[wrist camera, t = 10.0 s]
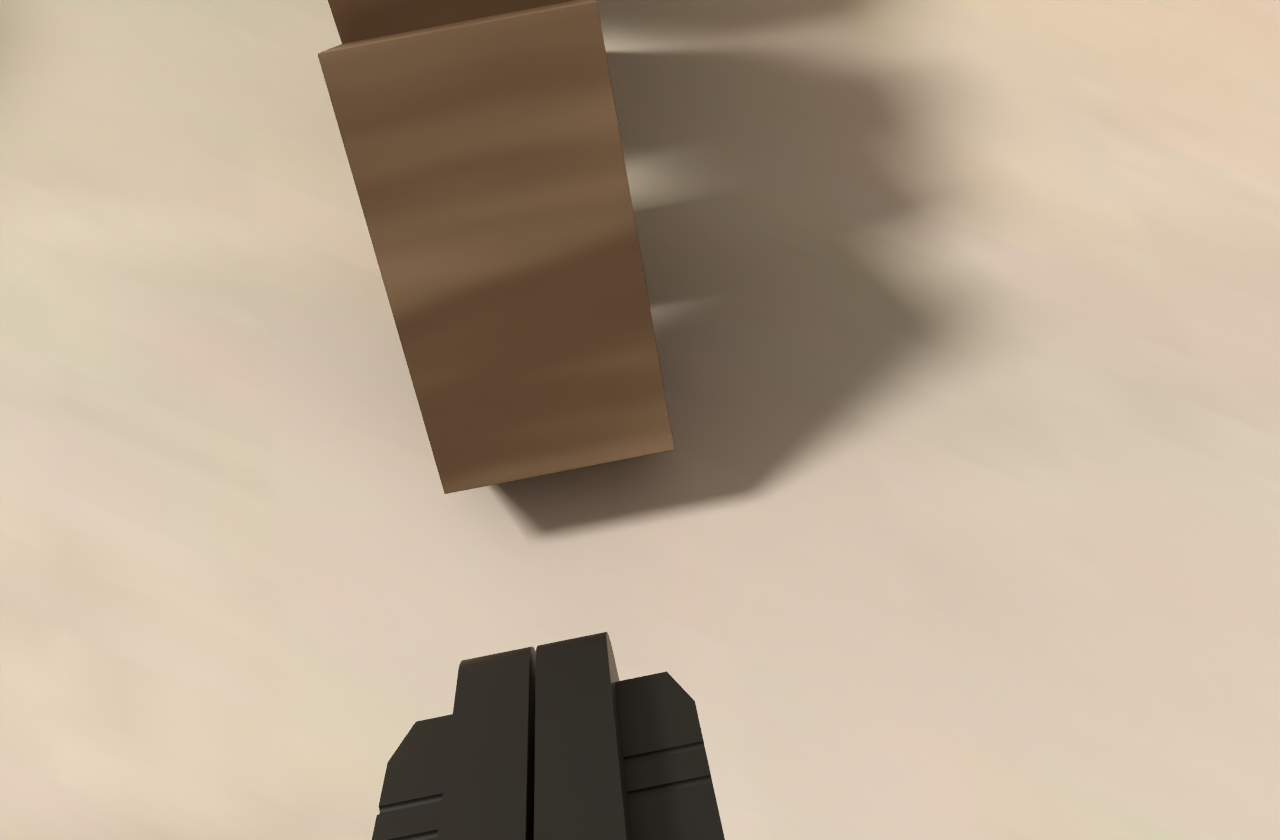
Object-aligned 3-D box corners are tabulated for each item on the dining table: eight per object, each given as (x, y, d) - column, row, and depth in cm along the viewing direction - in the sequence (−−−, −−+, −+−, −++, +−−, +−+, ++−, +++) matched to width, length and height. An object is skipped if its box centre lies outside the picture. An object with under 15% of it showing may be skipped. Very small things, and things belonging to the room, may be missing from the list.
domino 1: (633, 261, 24) (562, -169, 18) (426, 300, 24) (289, -118, 18) (620, 212, 26) (553, -189, 20) (429, 249, 26) (307, -143, 20)
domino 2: (674, 449, 21) (596, 0, 18) (445, 493, 21) (317, 53, 18) (661, 403, 24) (589, -3, 20) (453, 443, 24) (342, 43, 20)
